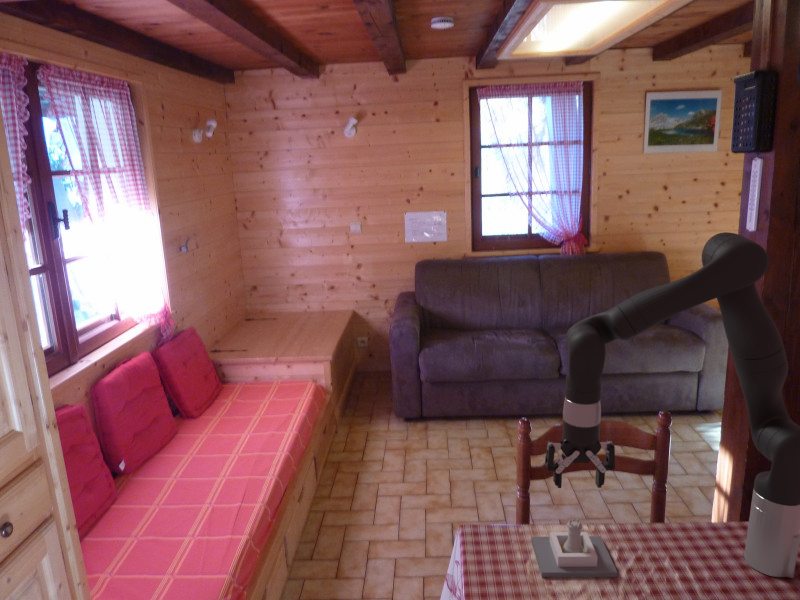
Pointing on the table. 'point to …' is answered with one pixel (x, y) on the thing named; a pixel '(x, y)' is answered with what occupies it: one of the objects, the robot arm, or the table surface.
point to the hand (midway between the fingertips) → (578, 486)
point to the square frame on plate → (572, 557)
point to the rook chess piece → (573, 538)
